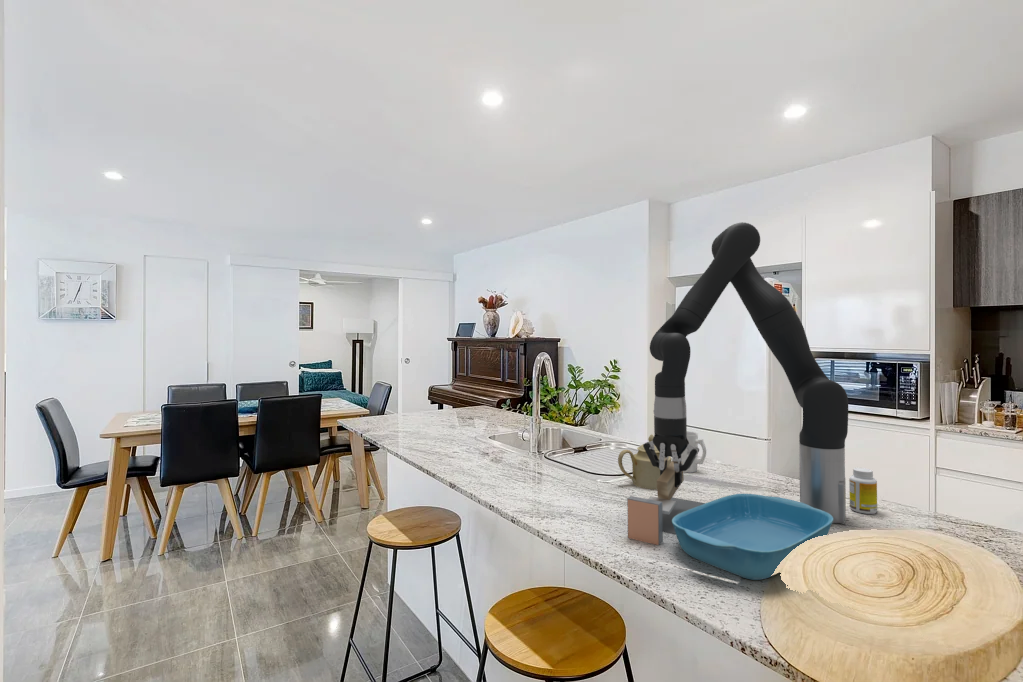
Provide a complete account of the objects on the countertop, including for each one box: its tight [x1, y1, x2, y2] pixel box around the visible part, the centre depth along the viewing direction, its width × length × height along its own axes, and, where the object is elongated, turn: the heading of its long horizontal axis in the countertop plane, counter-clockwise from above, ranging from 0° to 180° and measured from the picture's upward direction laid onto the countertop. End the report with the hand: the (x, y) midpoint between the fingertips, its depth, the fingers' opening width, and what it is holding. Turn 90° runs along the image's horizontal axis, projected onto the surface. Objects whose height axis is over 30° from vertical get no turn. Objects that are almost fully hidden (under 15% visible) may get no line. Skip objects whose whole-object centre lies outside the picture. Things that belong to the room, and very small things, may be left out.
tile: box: [626, 495, 664, 546], centre depth 105 cm, size 7×2×9 cm, turn 54°
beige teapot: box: [617, 433, 672, 491], centre depth 143 cm, size 15×11×15 cm
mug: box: [682, 431, 707, 474], centre depth 158 cm, size 10×7×12 cm, turn 39°
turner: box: [648, 459, 685, 514], centre depth 118 cm, size 6×17×5 cm, turn 144°
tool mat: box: [663, 496, 706, 536], centre depth 120 cm, size 12×24×1 cm, turn 144°
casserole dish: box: [672, 493, 833, 581], centre depth 101 cm, size 37×22×7 cm, turn 127°
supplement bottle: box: [848, 467, 878, 515], centre depth 121 cm, size 6×6×10 cm
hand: (670, 485), depth 120 cm, fingers closed on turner
